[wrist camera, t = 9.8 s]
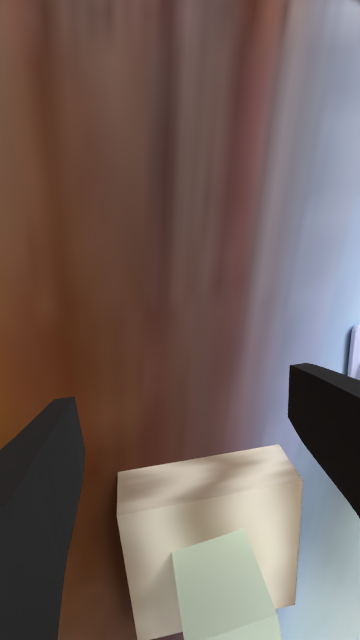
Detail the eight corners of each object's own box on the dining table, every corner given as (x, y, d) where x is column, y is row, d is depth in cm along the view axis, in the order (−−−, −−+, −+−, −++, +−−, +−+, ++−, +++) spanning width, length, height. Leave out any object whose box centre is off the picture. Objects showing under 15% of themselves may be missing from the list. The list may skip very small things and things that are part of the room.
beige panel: (276, 440, 25) (303, 480, 21) (272, 553, 29) (294, 604, 25) (117, 467, 24) (116, 515, 20) (136, 583, 27) (138, 642, 24)
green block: (244, 528, 22) (277, 614, 17) (254, 578, 23) (287, 669, 19) (171, 552, 21) (185, 646, 17) (187, 601, 23) (204, 700, 18)
